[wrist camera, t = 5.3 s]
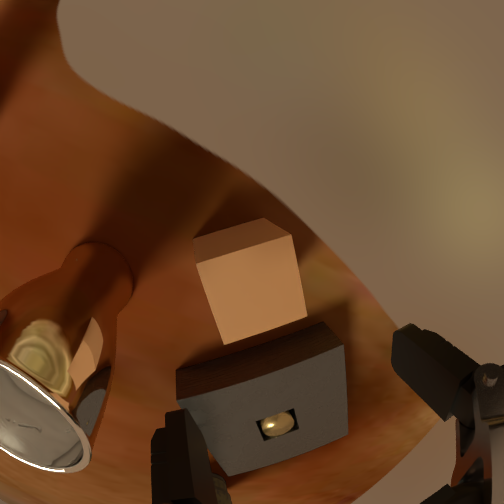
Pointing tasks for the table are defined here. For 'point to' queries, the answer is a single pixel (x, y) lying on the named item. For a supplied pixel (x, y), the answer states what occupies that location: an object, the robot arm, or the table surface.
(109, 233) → the table surface
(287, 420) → the pin
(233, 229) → the light brown cube
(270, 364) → the plate
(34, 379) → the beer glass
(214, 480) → the green stone statue
